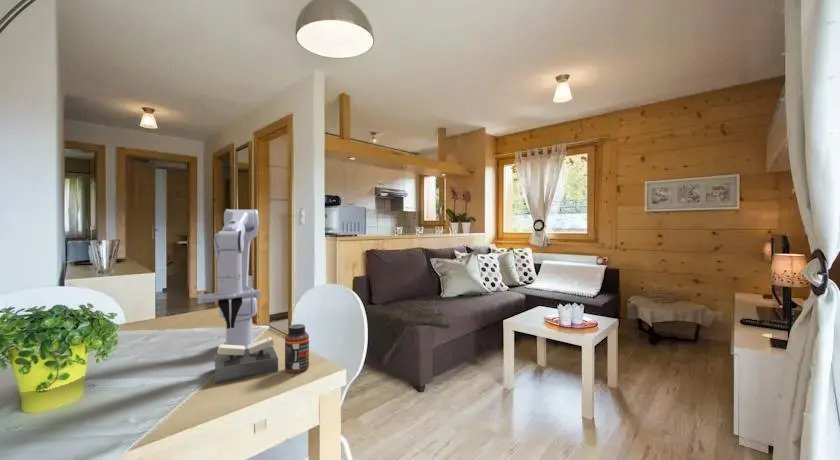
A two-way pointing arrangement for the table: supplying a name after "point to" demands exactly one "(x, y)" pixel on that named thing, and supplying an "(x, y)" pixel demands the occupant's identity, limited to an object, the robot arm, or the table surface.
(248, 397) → the table surface
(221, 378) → the rocker switch box
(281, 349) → the table surface
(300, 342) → the supplement bottle
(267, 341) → the rocker
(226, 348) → the block
